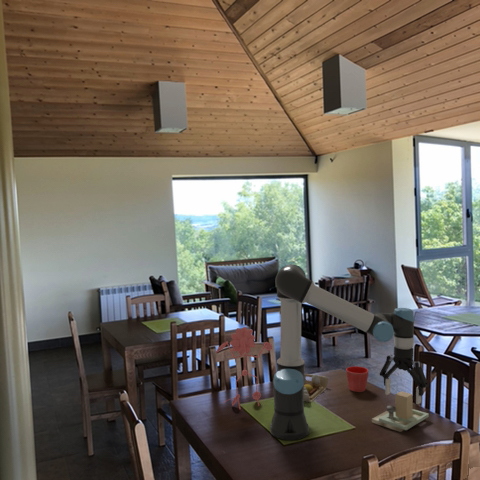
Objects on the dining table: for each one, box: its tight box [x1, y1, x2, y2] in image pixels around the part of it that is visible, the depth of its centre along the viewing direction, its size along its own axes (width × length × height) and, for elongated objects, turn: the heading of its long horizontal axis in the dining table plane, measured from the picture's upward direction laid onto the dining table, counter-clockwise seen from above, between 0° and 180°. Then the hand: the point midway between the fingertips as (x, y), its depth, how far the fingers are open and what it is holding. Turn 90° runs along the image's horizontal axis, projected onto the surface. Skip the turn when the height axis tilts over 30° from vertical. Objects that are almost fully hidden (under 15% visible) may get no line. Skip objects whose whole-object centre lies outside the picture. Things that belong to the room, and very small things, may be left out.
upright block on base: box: [379, 391, 430, 431], centre depth 199 cm, size 12×18×10 cm, turn 132°
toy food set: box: [273, 373, 329, 403], centre depth 237 cm, size 25×18×8 cm
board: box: [371, 405, 421, 433], centre depth 202 cm, size 13×18×7 cm
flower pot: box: [345, 365, 369, 393], centre depth 239 cm, size 11×11×10 cm
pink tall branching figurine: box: [215, 327, 273, 411], centre depth 225 cm, size 15×26×35 cm, turn 110°
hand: (402, 398), depth 199 cm, fingers open, 13 cm apart
